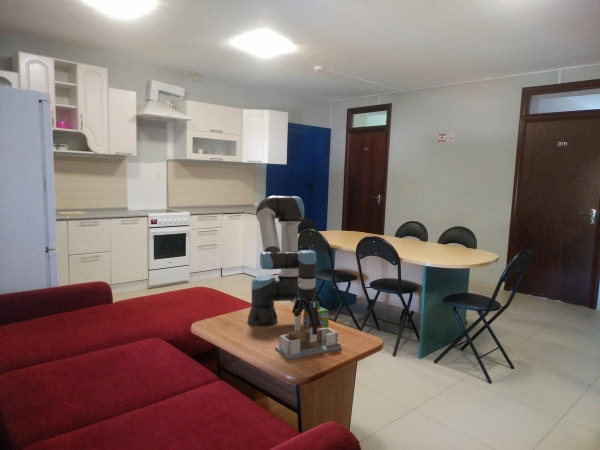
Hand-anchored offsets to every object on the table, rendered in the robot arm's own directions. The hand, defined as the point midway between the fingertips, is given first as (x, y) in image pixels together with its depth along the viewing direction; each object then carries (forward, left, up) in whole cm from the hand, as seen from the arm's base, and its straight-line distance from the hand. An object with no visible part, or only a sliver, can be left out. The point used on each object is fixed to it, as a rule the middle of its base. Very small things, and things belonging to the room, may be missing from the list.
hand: (305, 335), depth 171 cm
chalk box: (-16, +15, -6) cm, 22 cm away
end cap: (0, +11, -5) cm, 12 cm away
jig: (0, +2, -6) cm, 6 cm away
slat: (0, 0, -5) cm, 5 cm away
